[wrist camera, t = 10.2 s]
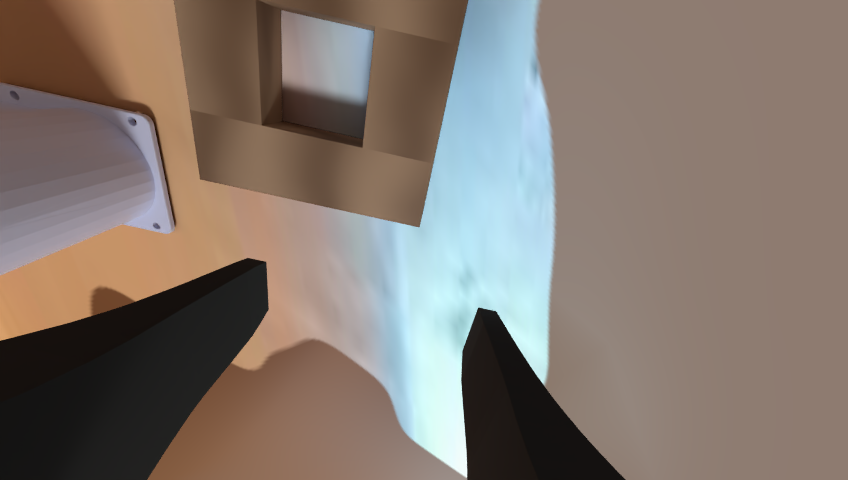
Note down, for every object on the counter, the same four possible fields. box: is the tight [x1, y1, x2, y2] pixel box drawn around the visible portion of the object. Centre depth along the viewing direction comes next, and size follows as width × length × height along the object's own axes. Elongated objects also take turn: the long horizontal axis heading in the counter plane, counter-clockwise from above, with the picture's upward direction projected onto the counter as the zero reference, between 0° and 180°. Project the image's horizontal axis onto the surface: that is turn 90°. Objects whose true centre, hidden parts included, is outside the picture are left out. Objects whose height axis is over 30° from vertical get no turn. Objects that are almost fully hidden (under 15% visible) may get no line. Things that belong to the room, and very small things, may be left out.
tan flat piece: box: [174, 0, 468, 227], centre depth 16 cm, size 13×13×2 cm
